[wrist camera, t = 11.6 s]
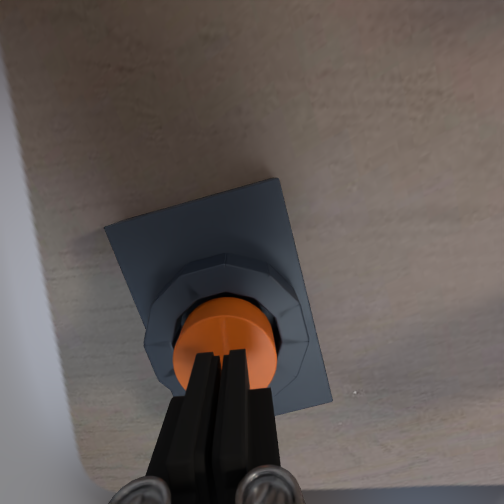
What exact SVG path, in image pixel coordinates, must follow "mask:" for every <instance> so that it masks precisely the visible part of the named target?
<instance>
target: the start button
mask: <svg viewBox="0 0 504 504" xmlns="http://www.w3.org/2000/svg"><path fill="white" fill-rule="evenodd" d="M236 349H246V357H247V366H248V375H249V384H250V389H259V388H267V387H268V385H269V384H270V382H271V381H272V379H273V377H274V374H275V371H276V367H277V353H276V348H275V342H274V337H273V332H272V327H271V325H270V322H269V320H268V318H267V317H266V316H265V314H264V313H263V312H262V311H261V310H260V309H259V308H258V307H256V306H255V305H253V304H252V303H250V302H248V301H245V300H243V299H239V298H234V297H220V298H215V299H212V300H209V301H206V302H204V303H202V304H201V305H199V306H198V307H196V308H195V309H194V310H193V311H192V312H191V313H190V314H189V316H188V317H187V319H186V321H185V323H184V325H183V328H182V330H181V333H180V335H179V338H178V340H177V342H176V345H175V348H174V352H173V367H174V371H175V375H176V377H177V379H178V381H179V383H180V384H181V386H182V387H183V388H184V389H185V390H186V389H187V385H188V382H189V378H190V375H191V371H192V367H193V364H194V360H195V357H196V354H197V353H204V352H213V353H214V356H220V362H221V369H222V364H223V356H224V355H229V351H230V350H236Z"/></svg>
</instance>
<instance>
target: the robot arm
mask: <svg viewBox="0 0 504 504" xmlns="http://www.w3.org/2000/svg"><path fill="white" fill-rule="evenodd" d="M108 504H305V501H304V497H303V494H302V491H301V488H300V486H299V484H298V482H297V480H296V478H295V477H294V476H293V475H292V474H291V473H290V472H289V471H287V470H286V469H284V468H282V467H281V465H280V456H279V448H278V440H277V432H276V424H275V416H274V407H273V399H272V391H271V387H270V388H259V389H250V384H249V375H248V366H247V357H246V349H236V350H230V351H229V355H224V356H223V364H222V369H221V362H220V356H214V353H213V352H204V353H197V354H196V357H195V360H194V364H193V367H192V371H191V375H190V378H189V382H188V385H187V389H186V393H185V396H175V397H173V398H172V399H171V401H170V404H169V407H168V410H167V413H166V416H165V419H164V422H163V425H162V428H161V431H160V434H159V437H158V440H157V443H156V446H155V449H154V452H153V455H152V458H151V461H150V464H149V467H148V470H147V473H146V475H145V476H143V477H140V478H138V479H135V480H132V481H131V482H129V483H128V484H126V485H125V486H123V487H122V488H121V489H120V490H119V491H118V492H117V493H116V494H115V495H114V496H113V497H112V499H111V500H110V502H109V503H108Z"/></svg>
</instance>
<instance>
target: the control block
mask: <svg viewBox="0 0 504 504" xmlns="http://www.w3.org/2000/svg"><path fill="white" fill-rule="evenodd" d="M104 229H105V232H106V234H107V237H108V239H109V241H110V244H111V246H112V249H113V251H114V254H115V256H116V258H117V261H118V263H119V266H120V268H121V270H122V273H123V275H124V278H125V280H126V283H127V285H128V287H129V290H130V292H131V295H132V297H133V300H134V302H135V304H136V307H137V309H138V312H139V314H140V317H141V319H142V321H143V324H144V326H145V329H146V332H145V338H144V348H145V350H146V353H147V355H148V357H149V360H150V362H151V365H152V367H153V369H154V372H155V374H156V376H157V379H158V380H159V382H161V383H162V384H163V385H165V386H166V387H167V388H169V389H170V390H171V392H172V394H173V397H175V396H185V393H186V390H185V389H184V388H183V387H182V386H181V384H180V383H179V381H178V379H177V377H176V375H175V371H174V367H173V352H174V348H175V345H176V342H177V340H178V338H179V335H180V333H181V330H182V328H183V325H184V323H185V321H186V319H187V317H188V316H189V314H190V313H191V312H192V311H193V310H194V309H195V308H196V307H198V306H199V305H201V304H202V303H204V302H206V301H209V300H212V299H215V298H220V297H234V298H239V299H243V300H245V301H248V302H250V303H252V304H253V305H255V306H256V307H258V308H259V309H260V310H261V311H262V312H263V313H264V314H265V316H266V317H267V318H268V320H269V322H270V325H271V327H272V332H273V337H274V342H275V348H276V353H277V367H276V371H275V374H274V377H273V379H272V381H271V382H270V384H269V385H268V387H267V388H270V387H271V391H272V399H273V407H274V416H276V415H280V414H285V413H289V412H293V411H297V410H301V409H305V408H309V407H313V406H317V405H321V404H325V403H329V402H332V401H333V399H332V395H331V391H330V387H329V383H328V378H327V374H326V370H325V366H324V362H323V358H322V354H321V350H320V345H319V341H318V337H317V333H316V329H315V325H314V321H313V317H312V312H311V308H310V304H309V300H308V296H307V292H306V288H305V284H304V279H303V275H302V271H301V267H300V263H299V259H298V255H297V251H296V246H295V242H294V238H293V234H292V230H291V226H290V222H289V218H288V213H287V209H286V205H285V201H284V197H283V193H282V189H281V185H280V181H279V178H270V179H267V180H263V181H259V182H256V183H252V184H249V185H245V186H242V187H238V188H235V189H231V190H228V191H224V192H221V193H217V194H214V195H210V196H206V197H203V198H199V199H196V200H192V201H189V202H185V203H182V204H178V205H175V206H171V207H168V208H164V209H160V210H157V211H153V212H150V213H146V214H143V215H139V216H136V217H132V218H129V219H125V220H122V221H119V222H117V223H114V224H111V225H108V226H105V227H104Z"/></svg>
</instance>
